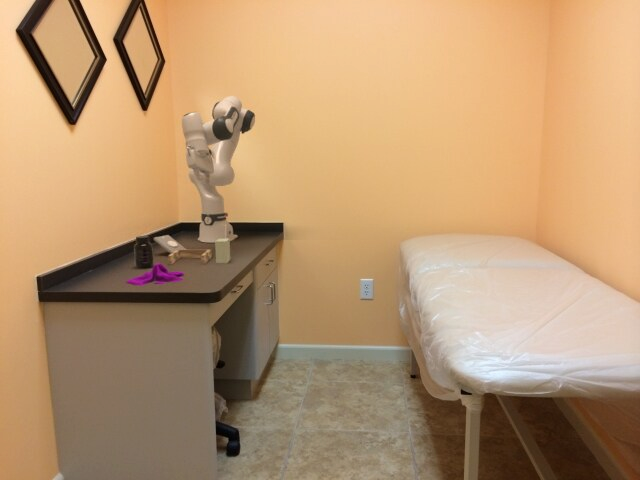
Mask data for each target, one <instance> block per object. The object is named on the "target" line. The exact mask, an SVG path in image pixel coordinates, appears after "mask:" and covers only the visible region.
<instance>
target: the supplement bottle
mask: <svg viewBox="0 0 640 480" xmlns="http://www.w3.org/2000/svg"><path fill="white" fill-rule="evenodd" d="M135 242H136V243H135V244H134V245H133V252H134V253H133V254H134V264H135V268H136V269H149V268H153V267H154V265H155V263H154V250H153V244H152V243H151V242H150V236H149V235H138V236H136V237H135Z"/></svg>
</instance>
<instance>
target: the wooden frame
mask: <svg viewBox="0 0 640 480" xmlns="http://www.w3.org/2000/svg"><path fill="white" fill-rule="evenodd" d="M186 249H187V248H186ZM212 256H213V255H212V249H211V248H203V249H202V248H201V249H200V248H199V249H193V248H191V249H187V250H176V251H175V252H173V253H172V254H171V253H169V254H168V255H167V265H168V266H169V265H173V264H174V263H175V262H176V261H178V260H180V259H200V264H201V265H205V264H206V263H207V262H208V261H210V260H211V258H213V257H212Z"/></svg>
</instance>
